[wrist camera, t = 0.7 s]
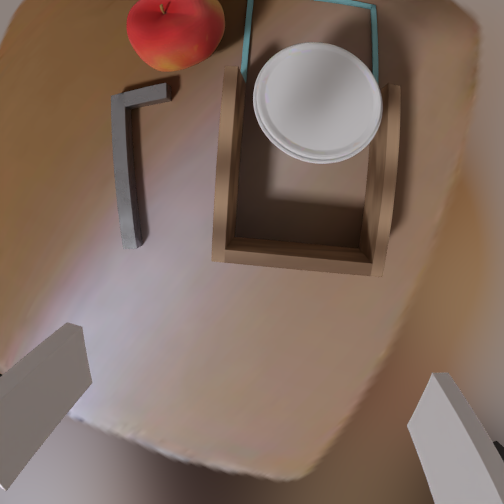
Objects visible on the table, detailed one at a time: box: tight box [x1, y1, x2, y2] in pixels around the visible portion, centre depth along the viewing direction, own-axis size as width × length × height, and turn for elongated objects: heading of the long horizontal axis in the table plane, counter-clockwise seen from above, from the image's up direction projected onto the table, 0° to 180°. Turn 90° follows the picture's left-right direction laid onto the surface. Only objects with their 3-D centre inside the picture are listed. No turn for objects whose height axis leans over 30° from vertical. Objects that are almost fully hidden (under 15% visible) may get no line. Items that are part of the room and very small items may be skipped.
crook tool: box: [111, 83, 172, 249], centre depth 33 cm, size 18×7×2 cm, turn 4°
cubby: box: [212, 66, 401, 277], centre depth 29 cm, size 18×16×6 cm
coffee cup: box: [253, 42, 383, 164], centre depth 25 cm, size 9×9×12 cm
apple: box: [127, 0, 225, 72], centre depth 25 cm, size 10×10×10 cm
